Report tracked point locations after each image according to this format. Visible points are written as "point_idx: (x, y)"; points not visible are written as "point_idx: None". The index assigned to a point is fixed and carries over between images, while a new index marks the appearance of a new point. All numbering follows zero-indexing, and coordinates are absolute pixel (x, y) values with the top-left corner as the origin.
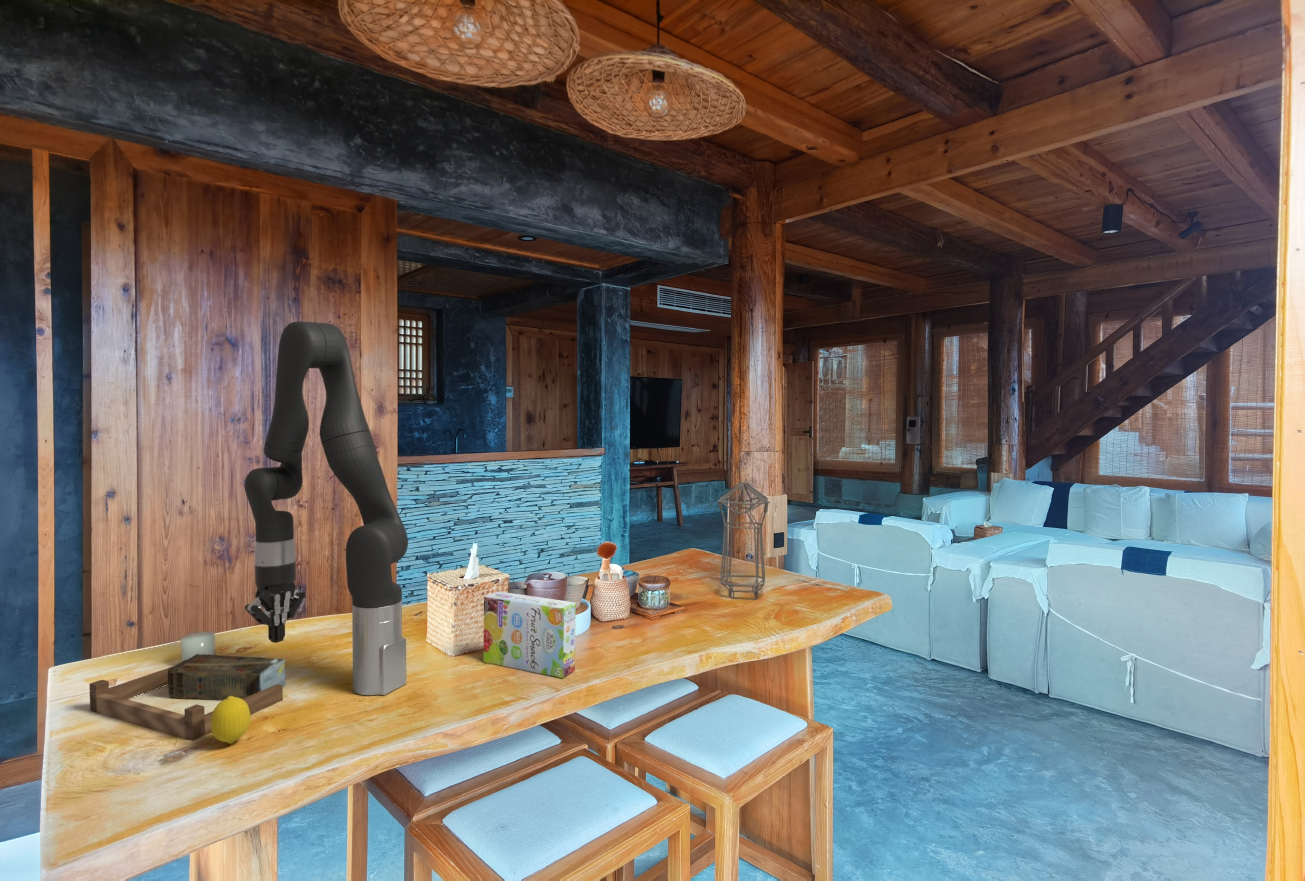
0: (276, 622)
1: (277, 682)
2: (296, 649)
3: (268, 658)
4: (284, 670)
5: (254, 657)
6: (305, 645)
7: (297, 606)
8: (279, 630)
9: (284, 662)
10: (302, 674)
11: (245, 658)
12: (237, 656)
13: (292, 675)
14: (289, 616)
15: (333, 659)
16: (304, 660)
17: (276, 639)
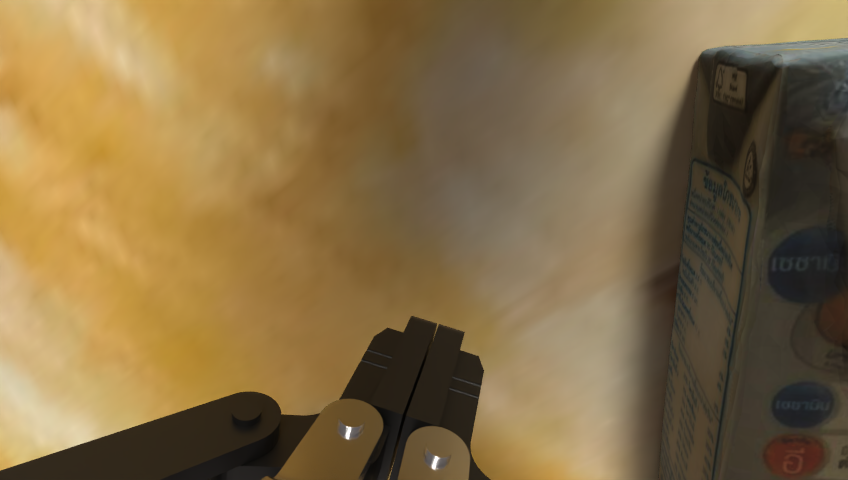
0: (448, 459)
1: (825, 42)
2: (212, 323)
3: (781, 212)
4: (750, 52)
5: (763, 331)
6: (160, 312)
7: (107, 452)
8: (427, 382)
9: (787, 51)
10: (501, 70)
11: (792, 380)
12: (751, 450)
13: (524, 123)
14: (273, 420)
15: (253, 38)
16: (314, 199)
17: (460, 351)
